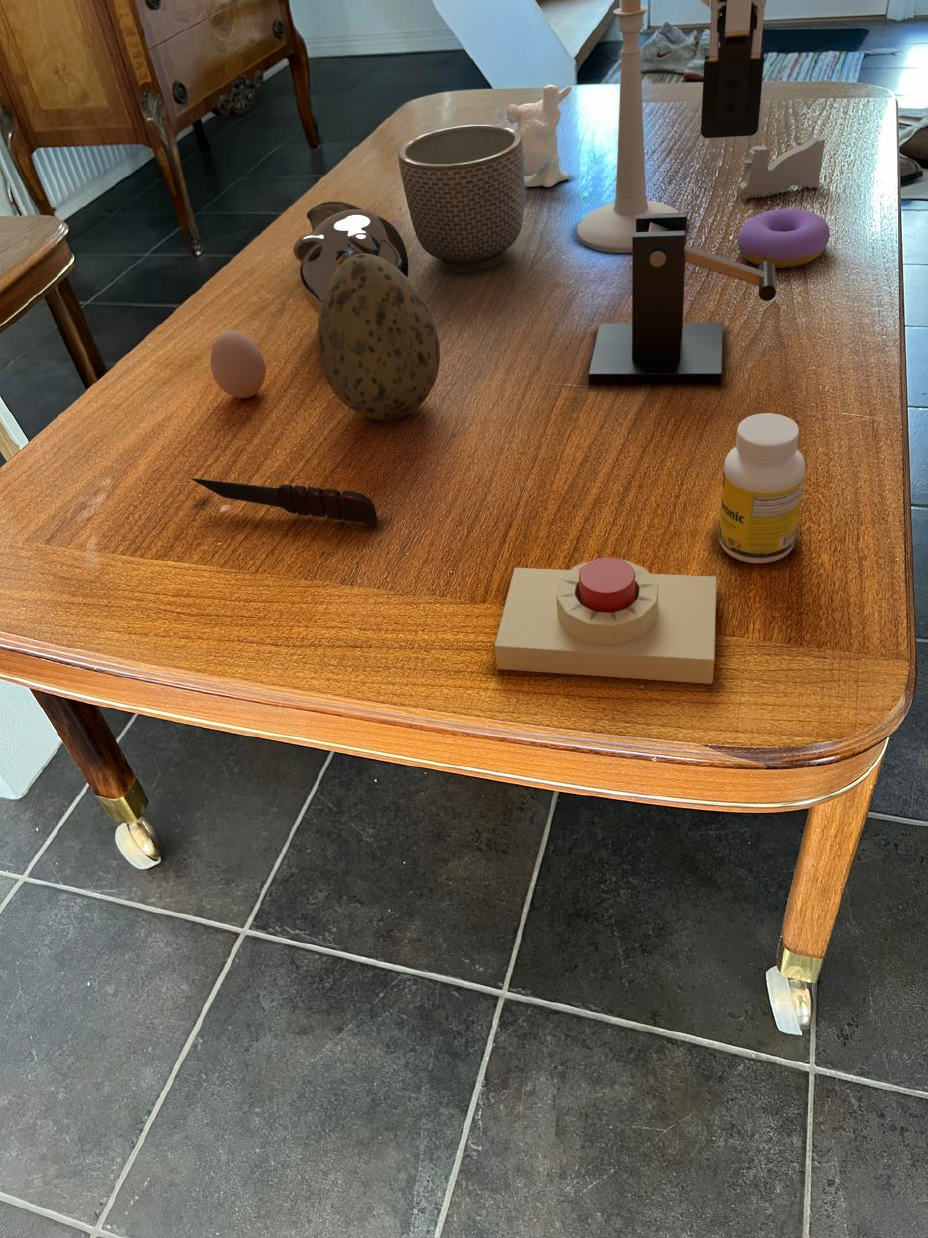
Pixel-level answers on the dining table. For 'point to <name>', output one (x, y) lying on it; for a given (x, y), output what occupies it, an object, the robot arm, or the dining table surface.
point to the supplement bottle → (762, 490)
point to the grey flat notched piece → (782, 169)
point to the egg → (237, 364)
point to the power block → (610, 627)
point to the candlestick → (625, 150)
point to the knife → (301, 500)
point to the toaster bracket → (658, 319)
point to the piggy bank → (345, 248)
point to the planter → (465, 192)
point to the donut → (783, 237)
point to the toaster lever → (731, 267)
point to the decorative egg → (377, 339)
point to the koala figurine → (540, 136)
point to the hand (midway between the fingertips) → (728, 131)
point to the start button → (607, 584)
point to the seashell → (327, 211)
